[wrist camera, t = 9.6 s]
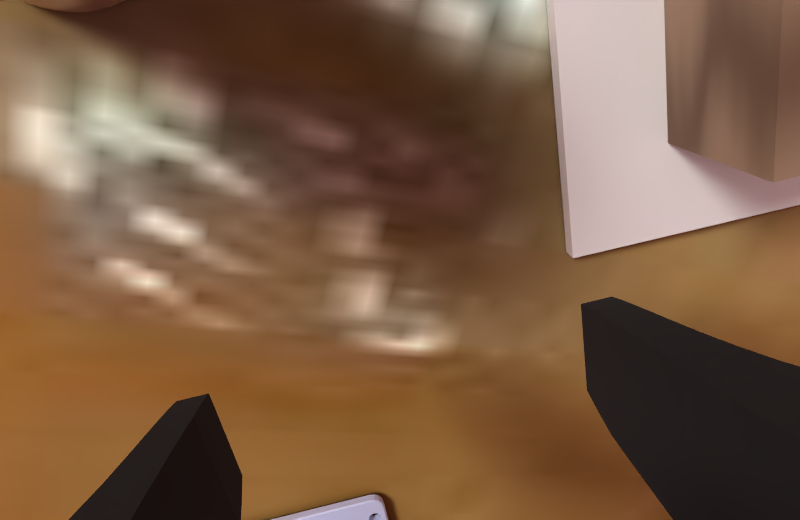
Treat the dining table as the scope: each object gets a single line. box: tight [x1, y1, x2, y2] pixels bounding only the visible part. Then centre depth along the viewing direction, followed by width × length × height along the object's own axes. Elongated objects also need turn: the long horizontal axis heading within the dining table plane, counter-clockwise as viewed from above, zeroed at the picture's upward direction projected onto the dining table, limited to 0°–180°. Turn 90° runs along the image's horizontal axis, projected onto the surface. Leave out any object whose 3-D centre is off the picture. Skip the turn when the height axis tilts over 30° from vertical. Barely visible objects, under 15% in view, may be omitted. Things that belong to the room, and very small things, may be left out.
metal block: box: [664, 0, 800, 183], centre depth 17 cm, size 5×5×5 cm
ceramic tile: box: [546, 0, 800, 258], centre depth 19 cm, size 12×12×1 cm
